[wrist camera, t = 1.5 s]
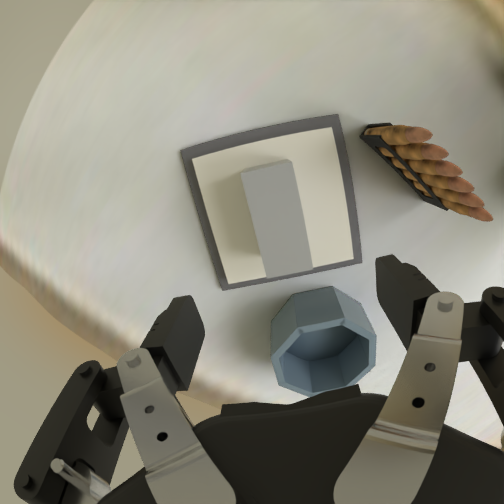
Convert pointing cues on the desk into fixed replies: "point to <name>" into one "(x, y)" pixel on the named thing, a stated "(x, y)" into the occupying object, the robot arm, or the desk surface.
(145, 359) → the robot arm
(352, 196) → the mat
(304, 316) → the bowl
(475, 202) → the ammunition clip
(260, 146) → the lid
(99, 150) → the desk surface
